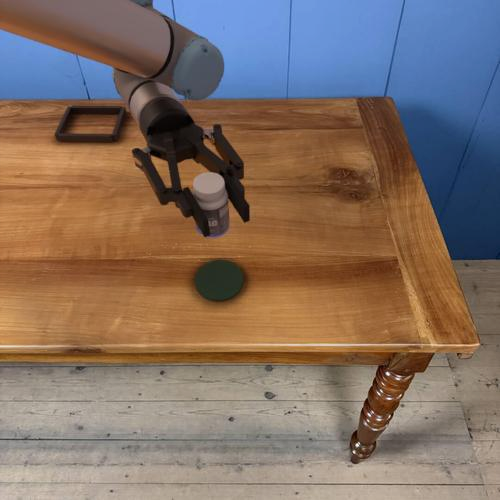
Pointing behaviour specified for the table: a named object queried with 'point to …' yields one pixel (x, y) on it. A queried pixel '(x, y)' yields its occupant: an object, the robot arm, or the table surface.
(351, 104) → the table surface
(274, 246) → the table surface
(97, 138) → the dark brown rectangular frame
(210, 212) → the pill bottle
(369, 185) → the table surface
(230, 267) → the mat
